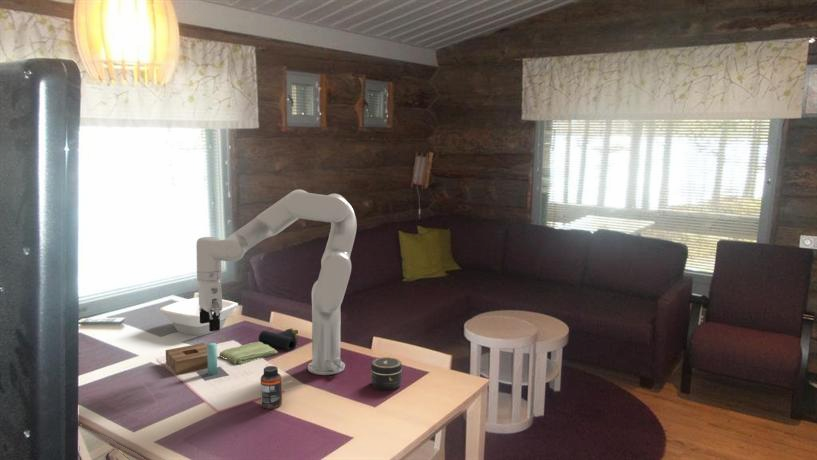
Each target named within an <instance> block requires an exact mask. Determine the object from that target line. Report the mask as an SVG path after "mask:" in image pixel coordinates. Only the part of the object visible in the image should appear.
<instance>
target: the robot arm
mask: <svg viewBox="0 0 817 460" xmlns="http://www.w3.org/2000/svg"><path fill="white" fill-rule="evenodd" d="M300 219H302V220H309V221H316V222H324V223H330V230H329V235H328V239H327V243H326V246H325V250H324V252H323V254H322V257H321V260H320V262H321V263H320V265H321V267H320V271H319V274H318V278H317V280H316V281H315V282H314V283H313V286H312V289H311V318H312V319H311V320H312V321H311V323H312V324H311V333H312V334H311V340H312V341H311V343H312V344H311V347H312V348H311V352H312V357H311V358H312V361H311V362H310V363H308V365H307V370H308V372H310V373H311V374H314V375H318V376H319V375H320V376H331V375H335V374H339V373H342V372H344V371H345V369H346V363H344V361H342V359H341V325H342V323H341V318H342V317H341V305H342V303H343V300H344V297H345V294H346V290H347V287H348V284H349V281H350V277H351V273H352V261H351V255H352V254H351V253H352V250H353V246H354V243H355V238H356V234H357V227H358V225H357V223H358V222H357V217H356V214H355V211H354V209H353V207H352V205H351V204H350V203H349V201H348V200H347V199H346V198H345V197H343V195H341V194H338V193H330V194H327V195H326V194H320V193H313V192H312V193H311V192H308V191H306V190H304V189H295V190H294V189H293V191H291V192H289V193H288V194H286V195H285V196H283V197H282V198H281V199H279V200H278V201H277V202H275V203H274V204H272V205H271V206H269V207H268V208H266V209H265V210H264V211H262V212H261V213H259V214H258V215H257V216H256V217H254V218H253V219H252V220H250V221H249V222H247V223H246V224H245V225H244V226H241V227H240V228H239V229H237V230H236V231H234V232H232V233H231V234H230V235H229V236H228V237H226V238H225V239H221V238H219V237H216V236H205V237H204V236H203V237H199V238H198V239H197V240H196V247H195V248H196V281H197V282H198V297H199V306H200V308H199V310H200V311H201V312H200V323H201V324H203V323H209V331H215V332H216V331H217V332H218V331H220V330H221V329H220V311H221V310H222V300H223V292H222V285H221V280H222V262H228V263H233V262H234V263H236V262H238V261H240V260H241V259H242V258H243V257H244V255H245V253H246V252H247V251H249V250H250V249H252V248H253V247H255V246H256V245H258V244H259V243H260V242H262V241H264V240H265V239H267V238H270V237H274V236H277V235H278V234H280V233H281V232H283V230H286V228H288V227H289V226H291V225H292V224H293V223H295V222H296V221H298V220H300ZM211 309H212V310H211ZM213 312H214V313H213ZM212 313H213V315H212Z"/></svg>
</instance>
